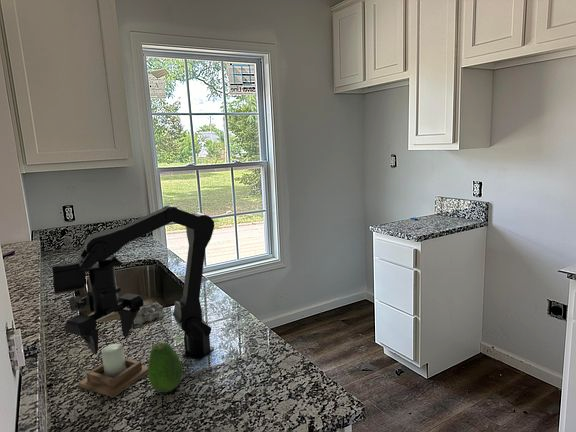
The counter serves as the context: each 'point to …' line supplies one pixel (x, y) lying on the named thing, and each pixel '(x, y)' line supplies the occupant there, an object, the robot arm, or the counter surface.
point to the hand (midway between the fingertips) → (110, 345)
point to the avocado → (164, 368)
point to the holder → (113, 385)
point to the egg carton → (149, 313)
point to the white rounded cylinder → (113, 360)
